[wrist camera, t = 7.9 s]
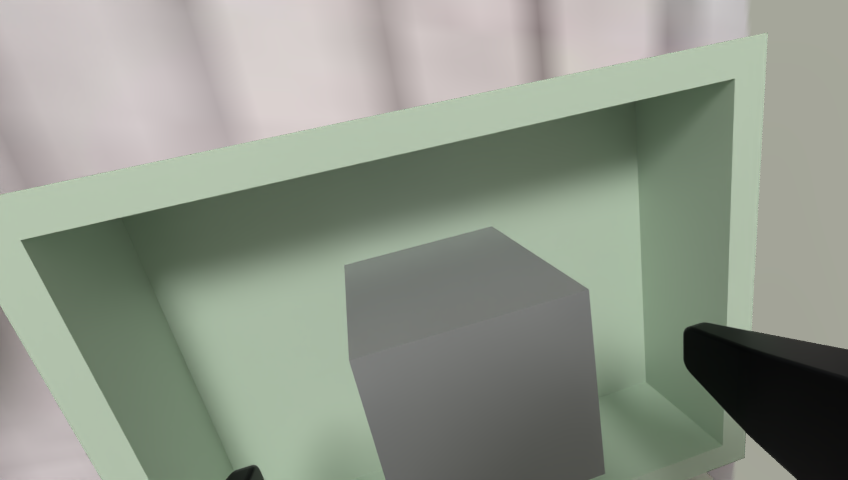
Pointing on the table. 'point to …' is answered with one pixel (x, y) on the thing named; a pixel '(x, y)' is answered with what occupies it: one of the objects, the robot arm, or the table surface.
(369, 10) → the table surface
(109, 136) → the table surface
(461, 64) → the table surface
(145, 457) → the green bin
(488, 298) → the stone block
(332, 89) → the table surface
